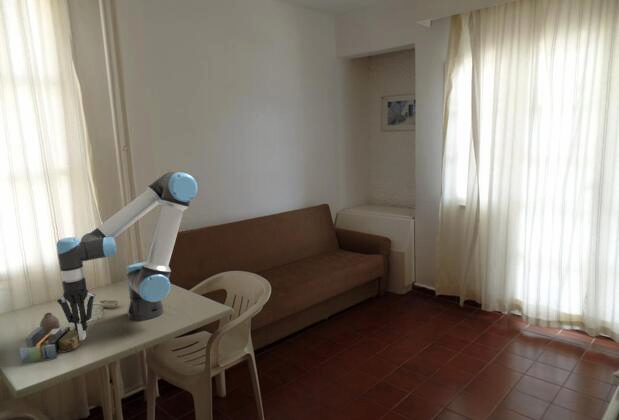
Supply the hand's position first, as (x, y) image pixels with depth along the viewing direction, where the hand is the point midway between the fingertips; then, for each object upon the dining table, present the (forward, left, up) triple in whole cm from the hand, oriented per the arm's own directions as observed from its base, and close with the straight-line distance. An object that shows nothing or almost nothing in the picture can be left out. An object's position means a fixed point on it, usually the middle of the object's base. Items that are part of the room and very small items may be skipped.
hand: (82, 338), depth 163 cm
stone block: (+4, -1, -3) cm, 5 cm away
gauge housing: (+12, +3, -2) cm, 12 cm away
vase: (+17, -14, -3) cm, 23 cm away
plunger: (+9, +2, -2) cm, 9 cm away
